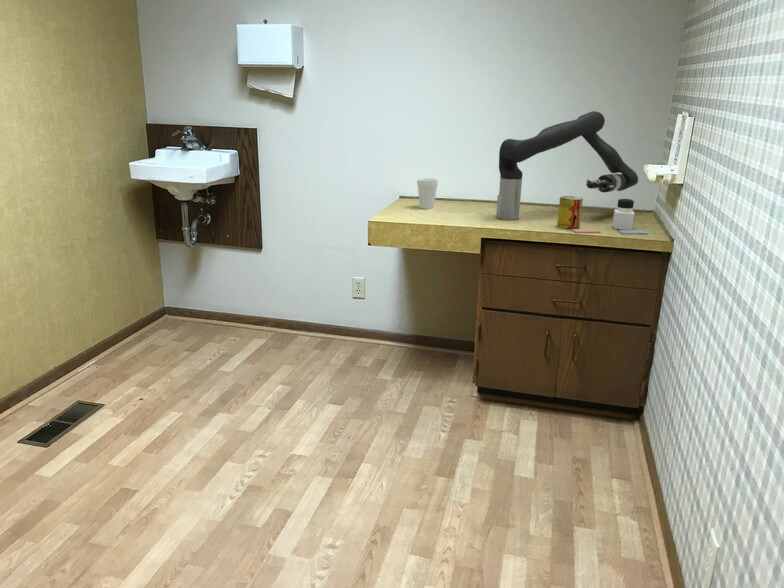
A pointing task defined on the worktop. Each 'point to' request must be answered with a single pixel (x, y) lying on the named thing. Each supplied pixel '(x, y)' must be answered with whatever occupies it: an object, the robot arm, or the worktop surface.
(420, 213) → the worktop surface
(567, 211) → the yellow red tin can
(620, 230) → the slate-blue tag
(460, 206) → the worktop surface
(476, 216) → the worktop surface
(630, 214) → the medicine bottle
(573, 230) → the terracotta tag
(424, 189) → the foam cup
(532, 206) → the worktop surface
